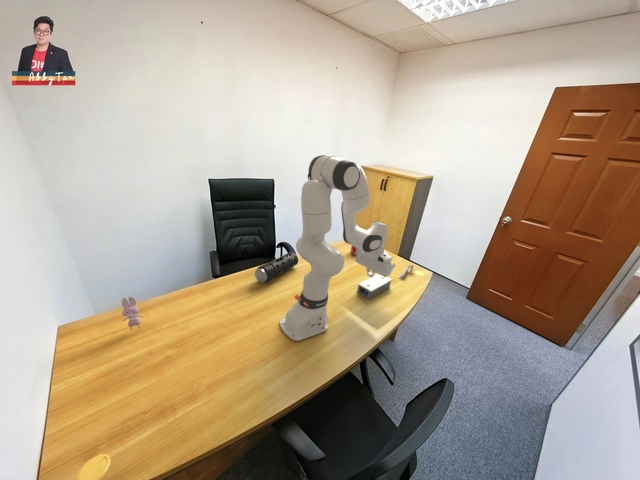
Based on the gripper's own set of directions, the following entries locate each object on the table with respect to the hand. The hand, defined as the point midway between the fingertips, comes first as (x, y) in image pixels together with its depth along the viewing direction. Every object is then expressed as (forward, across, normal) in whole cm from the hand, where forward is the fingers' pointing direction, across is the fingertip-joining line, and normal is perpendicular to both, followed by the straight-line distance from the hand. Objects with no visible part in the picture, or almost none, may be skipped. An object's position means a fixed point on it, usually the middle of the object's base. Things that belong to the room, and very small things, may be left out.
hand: (369, 276), depth 123 cm
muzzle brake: (+11, -43, -30) cm, 54 cm away
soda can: (+11, -36, +33) cm, 50 cm away
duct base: (+11, 0, +7) cm, 13 cm away
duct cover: (+6, -4, +7) cm, 10 cm away
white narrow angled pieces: (+11, -2, +38) cm, 40 cm away
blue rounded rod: (+10, 0, +7) cm, 12 cm away
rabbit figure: (+12, -40, -97) cm, 105 cm away
